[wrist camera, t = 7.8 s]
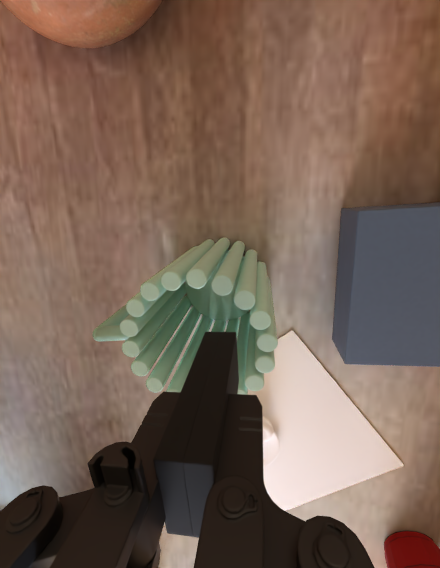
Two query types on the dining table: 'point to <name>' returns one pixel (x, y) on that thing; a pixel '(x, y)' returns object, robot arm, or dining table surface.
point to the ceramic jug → (83, 19)
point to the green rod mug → (206, 300)
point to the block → (389, 285)
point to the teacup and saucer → (267, 426)
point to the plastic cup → (411, 551)
